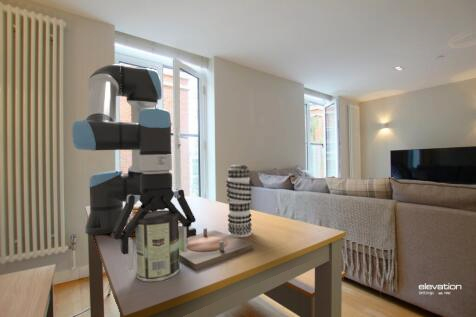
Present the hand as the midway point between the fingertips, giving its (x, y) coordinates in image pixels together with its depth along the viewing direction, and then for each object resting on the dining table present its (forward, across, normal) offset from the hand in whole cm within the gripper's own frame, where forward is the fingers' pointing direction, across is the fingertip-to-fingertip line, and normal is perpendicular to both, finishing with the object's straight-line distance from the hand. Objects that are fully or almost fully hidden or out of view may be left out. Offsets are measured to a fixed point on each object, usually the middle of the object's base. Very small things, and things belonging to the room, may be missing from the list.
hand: (158, 258), depth 60 cm
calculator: (+4, +13, +21) cm, 25 cm away
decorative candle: (+3, +34, +8) cm, 35 cm away
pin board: (+3, +17, +4) cm, 18 cm away
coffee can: (+4, 0, 0) cm, 4 cm away
